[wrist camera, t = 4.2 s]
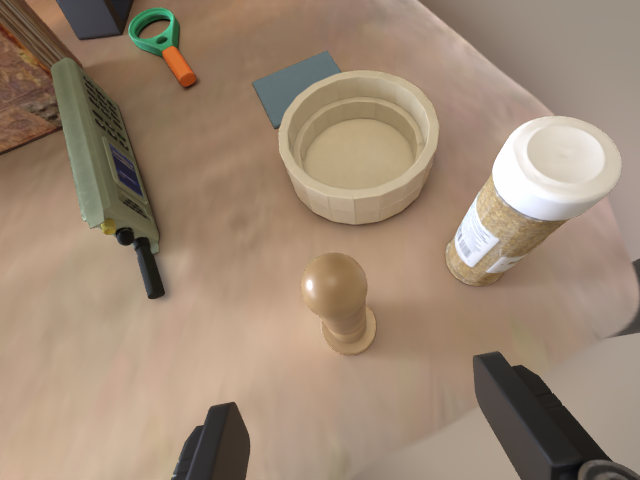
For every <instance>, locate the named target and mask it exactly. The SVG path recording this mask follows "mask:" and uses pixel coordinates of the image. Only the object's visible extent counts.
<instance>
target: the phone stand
mask: <svg viewBox="0 0 640 480" xmlns="http://www.w3.org/2000/svg"><path fill="white" fill-rule="evenodd" d="M56 1H57V3H58V5H59V7H60V8H61V10H62V12H63V13H64V15H65V17H66V19H67V20H68V22H69V24H70V25H71V27H72V29H73V31H74V32H75V34H76V36H77V37H78V39H79V40H83V39H90V38H97V37H104V36H112V35H119V34H123V31H124V28H125V25H126V22H127V19H128V15H129V12H130V9H131V6H132V3H133V0H56Z"/></svg>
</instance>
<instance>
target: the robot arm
mask: <svg viewBox="0 0 640 480" xmlns="http://www.w3.org/2000/svg"><path fill="white" fill-rule="evenodd" d="M473 368H474V383H475V393H476V397H477V401H478V403H479V406H480V408H481V410H482V412H483V414H484V415H485V417H486V419H487V421H488V423H489V424H490V426H491V428H492V430H493V431H494V433H495V435H496V437H497V438H498V440H499V442H500V443H501V445H502V447H503V449H504V451H505V452H506V454H507V456H508V458H509V459H510V461H511V463H512V465H513V466H514V468H515V470H516V472H517V473H518V475H519V476H520V479H521V480H640V476H639V475H638V474H637V473H635V472H634V471H632V470H630V469H628V468H627V467H625V466H623V465H620V464H618V463H615V462H613V461H612V460H611V459H610V458H609V457H608V456H607V455H606V454H605V453H604V452H603V450H602V449H601V448H600V447H599V446H598V445H597V443H596V442H595V441H594V440H593V439H592V438H591V437H590V435H589V434H588V433H587V432H586V431H585V430H584V429H583V427H582V426H581V425H580V424H579V422H578V421H577V420H576V419H575V418H574V417H573V416H572V414H571V413H570V412H569V411H568V410H567V409H566V408H565V406H563V405H562V403H561V402H560V400H559V399H558V398H557V397H556V396H555V395H554V393H553V394H552V392H551V390H550V389H549V388H548V386H547V385H546V384H545V383H544V382H543V381H542V379H541V378H540V377H539V376H538V375H536V374H535V373H533V372H532V371H530V370H528V369H527V368H525V367H524V366H522V365H518V366H513V367H511V366H510V364H509V363H508V362H507V361H506V359H505V358H504V357H503V355H502V354H501V353H500V352H498V351H496V352H491V353H485V354H480V355H475V356H474V357H473ZM249 455H250V438H249V434H248V431H247V429H246V426H245V424H244V421H243V419H242V417H241V414H240V412H239V410H238V407H237V405H236V403H235V402H230V403H225V404H220V405H215V406H211V407H210V409H209V411H208V414H207V417H206V420H205V423H204V425H201V426H196V428H195V429H194V430H193V432H192V433H191V435H190V436H189V437H188V439H187V440H186V442H185V444H184V446H183V449H182V452H181V454H180V457H179V463H177V465H176V468H175V471H174V473H173V474H174V476H173V477H172V479H171V480H245V478H246V473H247V467H248V461H249Z"/></svg>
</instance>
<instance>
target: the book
mask: <svg viewBox="0 0 640 480" xmlns="http://www.w3.org/2000/svg"><path fill="white" fill-rule="evenodd" d="M65 57H67V58H71V59H72V60H74V61H75V62H76V63H77V64H78V65H79V66H80V67H81V68H82V64H81V63H80V61H79V60H78V59H77V58H76V57H75V56H74V55H73V54H72V53H71V51H70V50H69V49H68V48H67V47H66V46H65V45H64V44H63V43H62V41H61V40H60V39H59V38H58V37H57V36H56V35H55V34H54V33H53V32H52V30H51V29H50V28H49V27H48V26H47V25H46V24H45V23H44V22H43V20H42V19H41V18H40V17H39V16H38V15H37V14H36V13H35V12H34V10H33V9H32V8H31V7H30V6H29V5H28V4H27V3H26V2H25V1H24V0H0V155H1V154H4V153H6V152H8V151H11V150H13V149H15V148H18V147H20V146H22V145H25V144H27V143H30V142H32V141H34V140H37V139H39V138H41V137H44V136H46V135H49V134H51V133H53V132H56V131H58V130H60V129H63V126H62V121H61V117H60V112H59V107H58V103H57V98H56V93H55V88H54V84H53V79H52V74H51V70H50V69H51V67H52V65H53V64H55V63H57V62H58V61H60V60H62V59H63V58H65Z"/></svg>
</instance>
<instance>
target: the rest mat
mask: <svg viewBox="0 0 640 480" xmlns="http://www.w3.org/2000/svg"><path fill="white" fill-rule="evenodd" d="M338 73H342V72H341V71H340V69H339V68H338V66H337V65H336V63H335V62H334V60H333V59H332V57H331V56H330V54H329V53H328V51H325V52H322V53H320V54H318V55H315V56H313V57H310V58H308V59H306V60H303V61H301V62H299V63H296V64H294V65H292V66H289V67H287V68H285V69H282V70H280V71H278V72H275V73H273V74H271V75H268V76H266V77H264V78H261V79H259V80H257V81H254V82H252V83H253V86H254V88H255V90H256V92H257V94H258V96H259V98H260V100H261V102H262V104H263V106H264V108H265V111H266V113H267V115H268V117H269V119H270V121H271V123H272V125H273V127H274V129H276V128H278V127H280V125H281V122H282V119H283V116H284V113H285V111H286V110H287V109H288V107H289V106H290V105H291V103H292V102H293V101H294V99H295V98H296V97H297V96H298V95H299V94H300V93H302V92H303V91H304V90H306V89H307V88H308V87H310V86H311V85H312V84H314V83H316V82H318V81H321V80H323V79H325V78H328V77H330V76H332V75H335V74H338Z"/></svg>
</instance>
